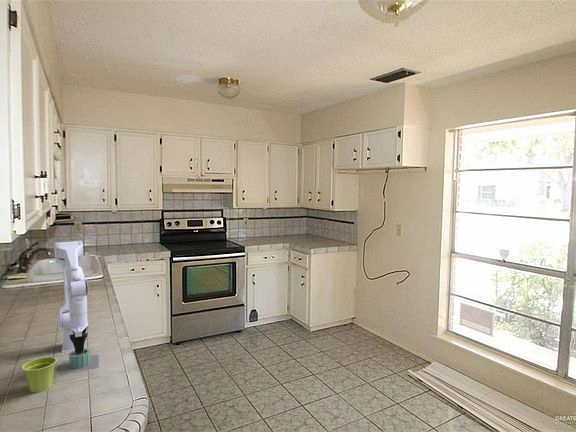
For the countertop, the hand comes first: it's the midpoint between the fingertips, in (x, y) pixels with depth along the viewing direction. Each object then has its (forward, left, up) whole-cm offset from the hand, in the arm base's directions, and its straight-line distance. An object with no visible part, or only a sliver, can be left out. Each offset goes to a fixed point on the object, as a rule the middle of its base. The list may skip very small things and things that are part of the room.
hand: (79, 348), depth 135 cm
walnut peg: (0, 0, -5) cm, 5 cm away
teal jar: (0, 0, -6) cm, 6 cm away
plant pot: (+12, -11, -7) cm, 18 cm away
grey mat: (0, 0, -6) cm, 6 cm away
